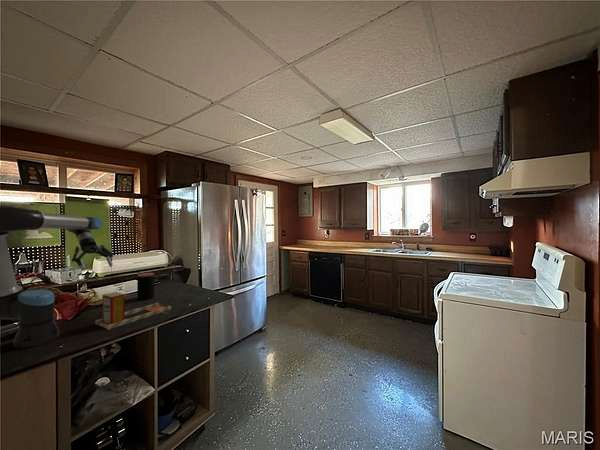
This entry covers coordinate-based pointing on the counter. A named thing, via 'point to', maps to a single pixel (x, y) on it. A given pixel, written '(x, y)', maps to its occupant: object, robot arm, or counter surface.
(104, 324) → the pad
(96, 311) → the counter surface
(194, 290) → the counter surface
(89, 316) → the counter surface
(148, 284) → the coffee jar
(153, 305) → the channel
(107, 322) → the baking soda box
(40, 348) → the counter surface
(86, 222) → the robot arm
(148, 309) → the trap pad
